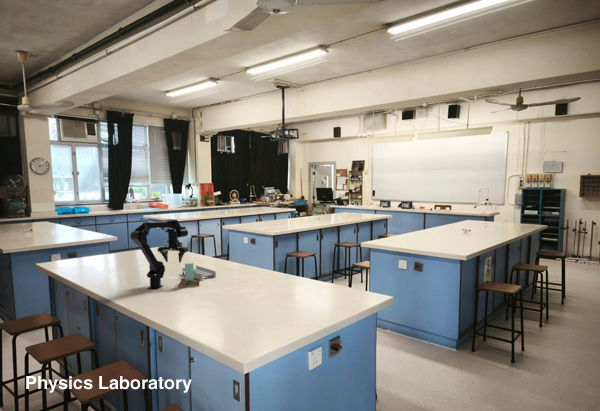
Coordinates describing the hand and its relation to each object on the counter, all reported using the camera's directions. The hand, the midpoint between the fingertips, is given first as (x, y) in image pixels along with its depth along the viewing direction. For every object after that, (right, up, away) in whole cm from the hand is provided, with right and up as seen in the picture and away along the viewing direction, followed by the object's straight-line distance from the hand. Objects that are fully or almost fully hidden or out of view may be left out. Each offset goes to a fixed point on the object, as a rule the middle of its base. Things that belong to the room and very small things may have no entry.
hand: (173, 262), depth 225 cm
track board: (+12, -13, -5) cm, 19 cm away
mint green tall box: (+12, -12, -5) cm, 18 cm away
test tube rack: (+8, -10, +12) cm, 18 cm away
